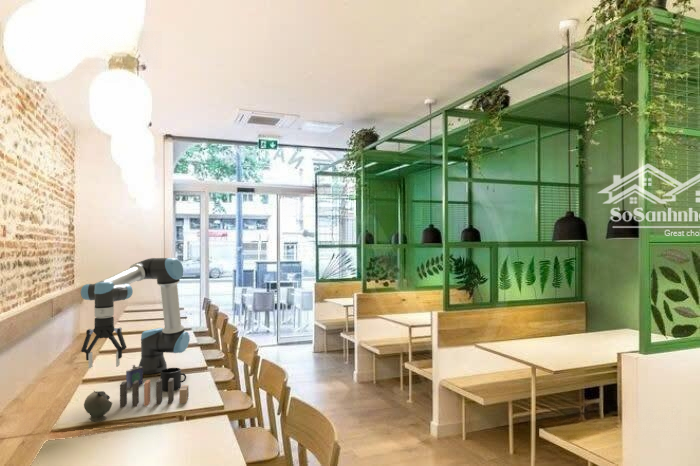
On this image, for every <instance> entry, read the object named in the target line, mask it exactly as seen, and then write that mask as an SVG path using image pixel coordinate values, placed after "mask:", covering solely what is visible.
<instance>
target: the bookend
mask: <svg viewBox="0 0 700 466" xmlns="http://www.w3.org/2000/svg"><path fill="white" fill-rule="evenodd" d="M178 390H179V400H178V402H179V403H180V404H186V402H188V399H189V398H188V397H189V393H190V392H189V384H183V385H182V384H181V387H180V388H179V389H178ZM179 403H178V404H179Z"/></svg>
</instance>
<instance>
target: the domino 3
mask: <svg viewBox="0 0 700 466" xmlns="http://www.w3.org/2000/svg"><path fill="white" fill-rule="evenodd" d="M143 385H144V387H143V389H144V390H143V391H144V392H143V397H144V399H143V400H144V401H143V405H144V406H145V407H146V406H149V405H150V403H151V379H146V380H145V381H144V382H143Z"/></svg>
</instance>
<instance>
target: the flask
mask: <svg viewBox="0 0 700 466" xmlns="http://www.w3.org/2000/svg"><path fill="white" fill-rule="evenodd" d="M143 375H144V374H143V367H141V366H140V367H139V365H138V366H136V365H135V364H133V365H132V368H130V369H127V370H125V381H127V390H128V389H132V384H133V383H134V381H138V380H139V386H142V385H144V381H143V380H144V379H143V378H144V377H143Z"/></svg>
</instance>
